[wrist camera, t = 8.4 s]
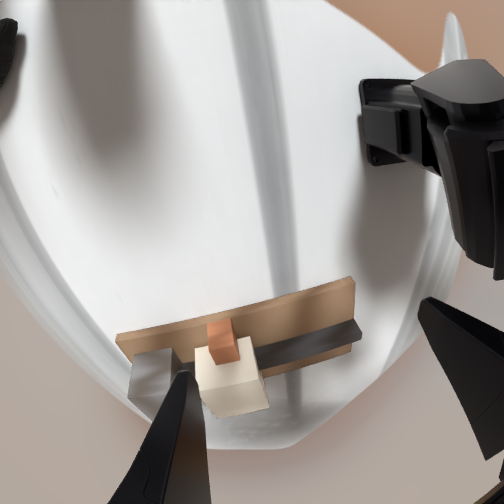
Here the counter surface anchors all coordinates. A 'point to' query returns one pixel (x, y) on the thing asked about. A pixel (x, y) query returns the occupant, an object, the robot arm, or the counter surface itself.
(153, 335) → the board
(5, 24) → the tape measure
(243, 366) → the sleeve
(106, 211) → the counter surface
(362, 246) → the counter surface
